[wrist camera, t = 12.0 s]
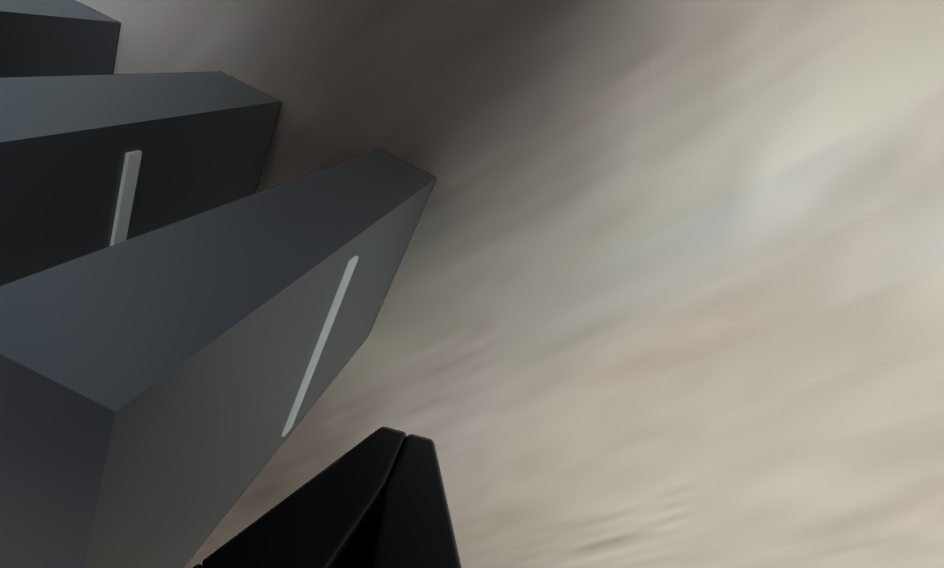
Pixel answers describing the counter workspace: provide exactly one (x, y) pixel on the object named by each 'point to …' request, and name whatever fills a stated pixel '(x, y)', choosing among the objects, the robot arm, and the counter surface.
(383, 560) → the robot arm
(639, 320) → the counter surface
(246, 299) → the domino
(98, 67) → the domino
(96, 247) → the domino
